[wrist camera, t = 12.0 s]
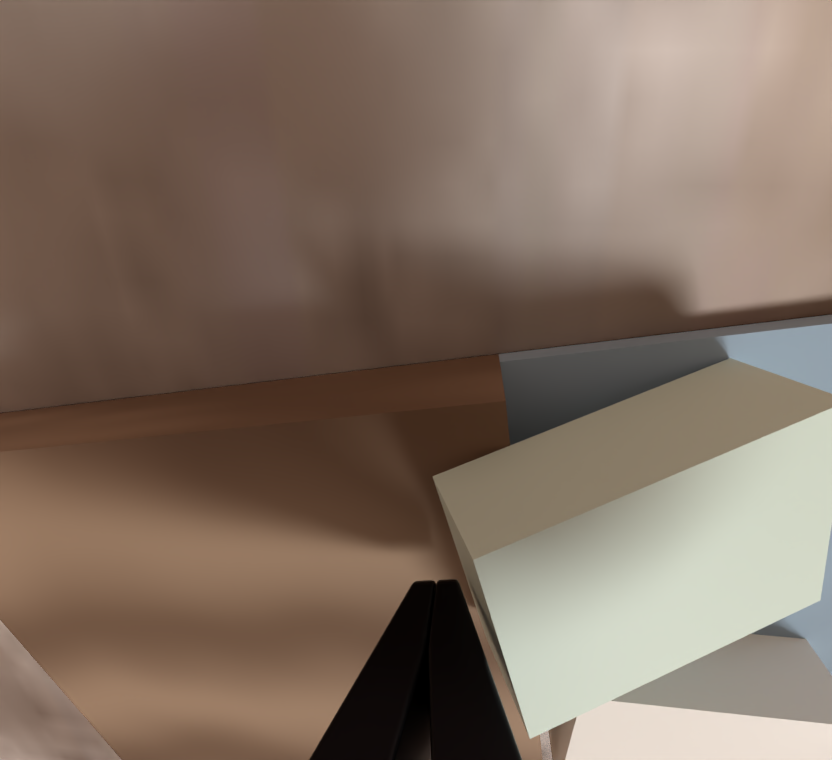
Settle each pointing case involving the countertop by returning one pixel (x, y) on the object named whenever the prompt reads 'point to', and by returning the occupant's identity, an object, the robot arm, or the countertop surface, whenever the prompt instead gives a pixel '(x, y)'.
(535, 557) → the sage green cuboid
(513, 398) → the slate mat
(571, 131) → the countertop surface
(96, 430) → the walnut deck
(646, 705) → the cream rectangular block
